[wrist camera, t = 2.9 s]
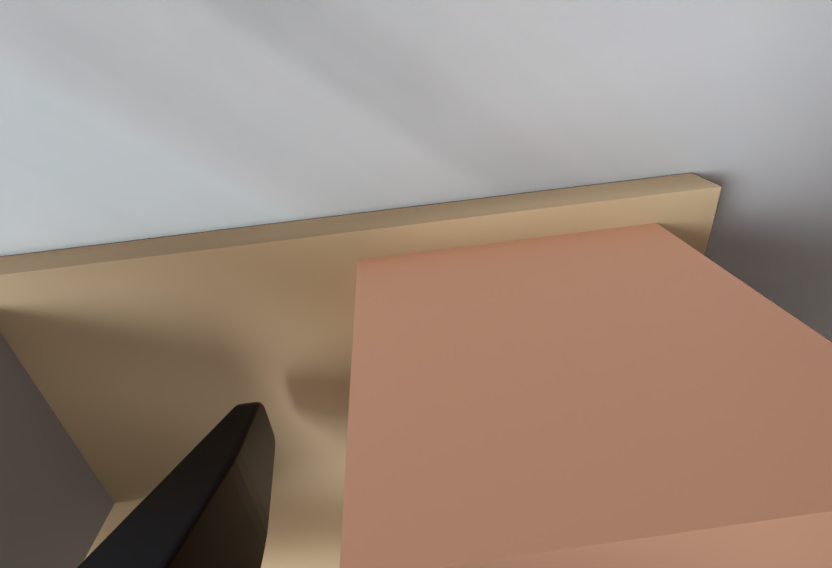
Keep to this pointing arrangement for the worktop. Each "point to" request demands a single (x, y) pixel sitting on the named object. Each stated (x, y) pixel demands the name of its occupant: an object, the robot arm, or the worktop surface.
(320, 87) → the worktop surface
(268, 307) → the oak board
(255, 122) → the worktop surface
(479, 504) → the terracotta block
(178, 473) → the robot arm
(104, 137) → the worktop surface
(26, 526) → the grey block
